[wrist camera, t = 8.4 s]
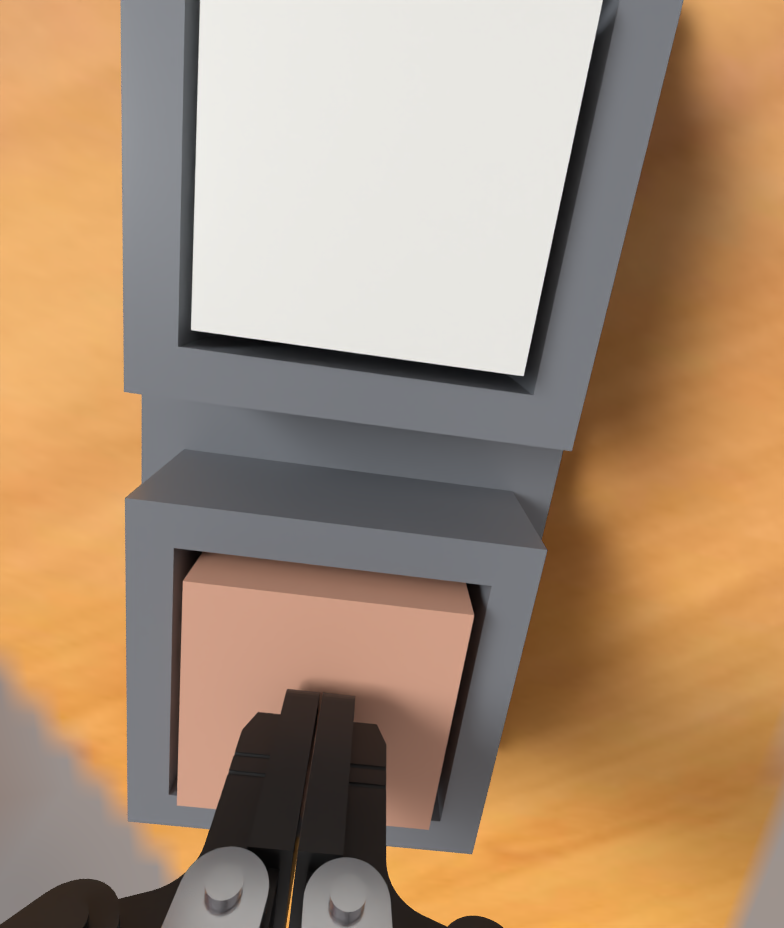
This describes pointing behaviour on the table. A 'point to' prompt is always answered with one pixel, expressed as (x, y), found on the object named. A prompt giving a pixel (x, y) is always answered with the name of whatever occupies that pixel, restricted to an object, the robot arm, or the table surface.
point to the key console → (354, 416)
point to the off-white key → (384, 171)
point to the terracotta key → (319, 665)
